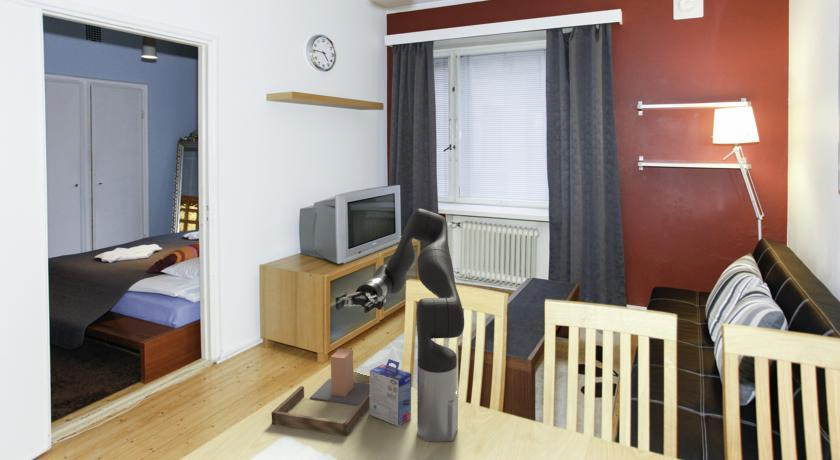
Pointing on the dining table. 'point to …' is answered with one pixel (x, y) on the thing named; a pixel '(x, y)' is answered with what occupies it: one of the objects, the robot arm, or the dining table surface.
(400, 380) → the ink cartridge box
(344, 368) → the tall peach block
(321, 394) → the charcoal mat
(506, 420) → the dining table surface
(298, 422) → the walnut open frame
